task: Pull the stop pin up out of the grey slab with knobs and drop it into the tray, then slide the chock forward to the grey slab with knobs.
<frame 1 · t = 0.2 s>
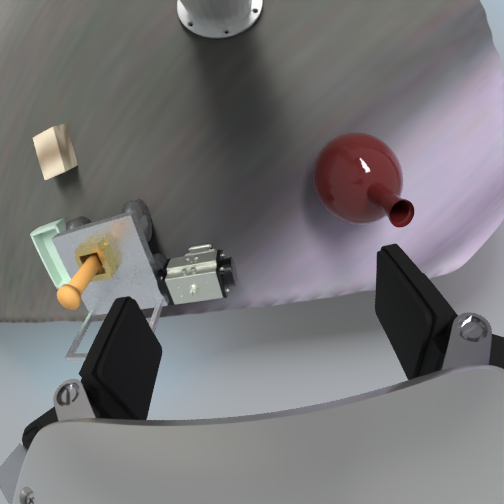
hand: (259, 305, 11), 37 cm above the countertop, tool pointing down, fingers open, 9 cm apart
tray: (62, 251, 50), on the countertop
chock: (62, 148, 41), on the countertop
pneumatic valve: (202, 249, 51), on the countertop
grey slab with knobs: (124, 245, 50), on the countertop
stop pin: (99, 256, 41), point 9 cm above the countertop, touching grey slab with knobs
round-bottom flask: (343, 167, 45), on the countertop
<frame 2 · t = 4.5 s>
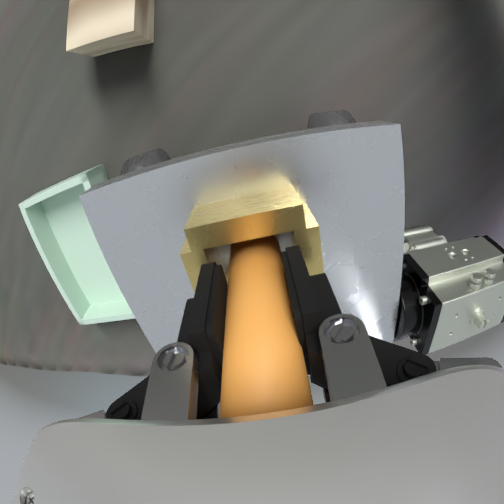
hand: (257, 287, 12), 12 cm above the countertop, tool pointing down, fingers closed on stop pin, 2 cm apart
tray: (92, 245, 24), on the countertop
chock: (124, 7, 14), on the countertop
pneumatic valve: (411, 237, 25), on the countertop
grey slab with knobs: (258, 228, 24), on the countertop
stop pin: (255, 249, 14), point 9 cm above the countertop, touching gripper, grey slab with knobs
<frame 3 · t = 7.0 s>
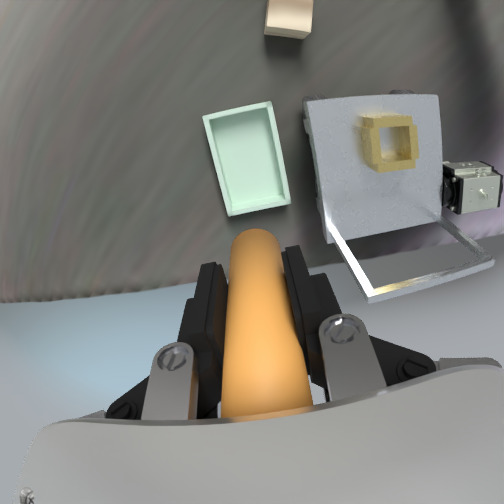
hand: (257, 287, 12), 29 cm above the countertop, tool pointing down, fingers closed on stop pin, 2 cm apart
tray: (248, 156, 37), on the countertop
chock: (286, 11, 27), on the countertop
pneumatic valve: (438, 168, 37), on the countertop
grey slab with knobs: (358, 151, 37), on the countertop
stop pin: (255, 250, 14), point 26 cm above the countertop, touching gripper
when the fingers open (6 cm above the countertop, at t = 9.7 s): stop pin drops 2 cm, resting on tray.
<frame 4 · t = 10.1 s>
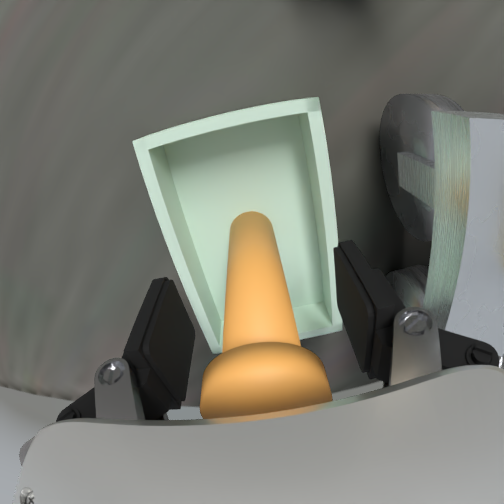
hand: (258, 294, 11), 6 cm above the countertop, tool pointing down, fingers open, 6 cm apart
tray: (253, 226, 17), on the countertop
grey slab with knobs: (464, 214, 17), on the countertop
stop pin: (251, 231, 16), point 1 cm above the countertop, touching tray
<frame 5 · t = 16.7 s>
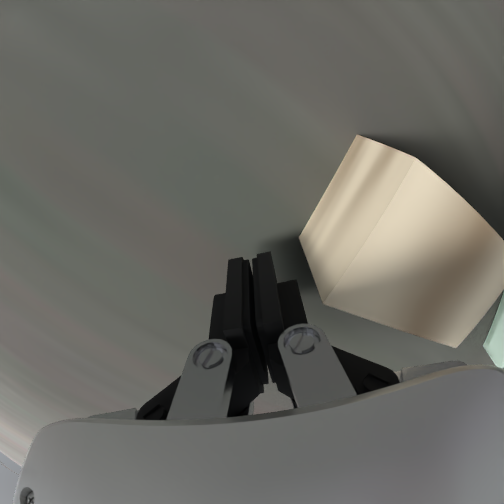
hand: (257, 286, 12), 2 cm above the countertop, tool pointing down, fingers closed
chock: (396, 226, 12), on the countertop, touching gripper
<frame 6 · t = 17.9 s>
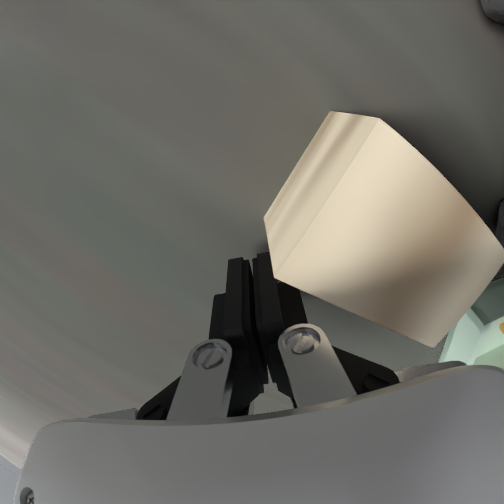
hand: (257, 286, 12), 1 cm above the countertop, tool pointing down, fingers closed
chock: (371, 211, 12), on the countertop
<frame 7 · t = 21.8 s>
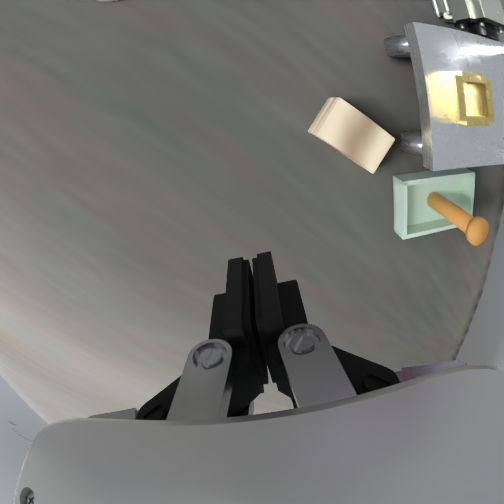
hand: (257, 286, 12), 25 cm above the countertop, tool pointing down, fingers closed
tray: (431, 197, 36), on the countertop
chock: (344, 132, 32), on the countertop
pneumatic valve: (437, 6, 22), on the countertop
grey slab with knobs: (436, 94, 29), on the countertop
stop pin: (433, 199, 36), point 1 cm above the countertop, touching tray
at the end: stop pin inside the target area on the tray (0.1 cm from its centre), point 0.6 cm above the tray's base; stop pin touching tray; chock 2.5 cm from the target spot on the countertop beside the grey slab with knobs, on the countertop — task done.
